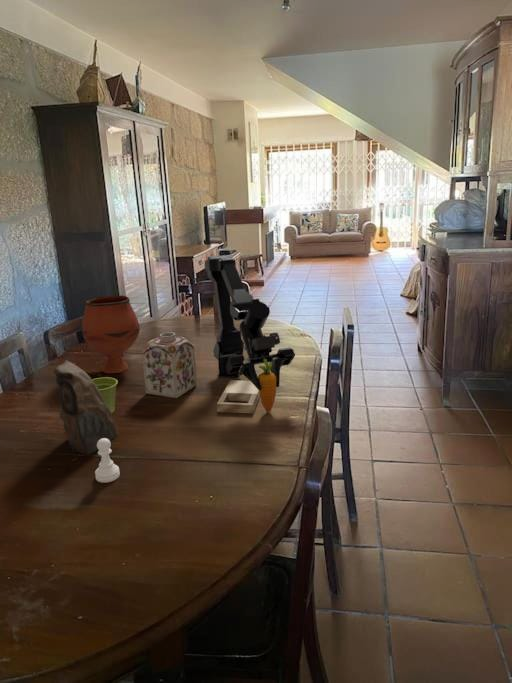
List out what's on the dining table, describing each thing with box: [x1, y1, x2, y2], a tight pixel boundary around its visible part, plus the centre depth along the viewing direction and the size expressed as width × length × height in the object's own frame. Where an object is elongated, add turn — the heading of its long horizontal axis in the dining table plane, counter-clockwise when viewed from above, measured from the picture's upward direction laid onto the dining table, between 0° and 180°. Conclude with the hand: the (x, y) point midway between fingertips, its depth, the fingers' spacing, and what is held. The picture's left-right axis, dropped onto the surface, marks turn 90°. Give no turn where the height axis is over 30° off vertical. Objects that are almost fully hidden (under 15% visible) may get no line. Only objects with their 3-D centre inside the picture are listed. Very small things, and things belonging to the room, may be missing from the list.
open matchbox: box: [216, 379, 260, 414], centre depth 147 cm, size 10×18×2 cm, turn 171°
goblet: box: [81, 294, 141, 374], centre depth 173 cm, size 19×19×25 cm
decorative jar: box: [141, 331, 198, 399], centre depth 154 cm, size 12×12×18 cm
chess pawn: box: [94, 438, 121, 484], centre depth 108 cm, size 5×5×9 cm
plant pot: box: [91, 376, 119, 414], centre depth 140 cm, size 9×9×9 cm
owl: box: [53, 359, 119, 456], centre depth 122 cm, size 13×13×20 cm
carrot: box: [257, 359, 277, 413], centre depth 136 cm, size 5×5×15 cm
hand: (269, 388), depth 135 cm, fingers closed on carrot, 5 cm apart
